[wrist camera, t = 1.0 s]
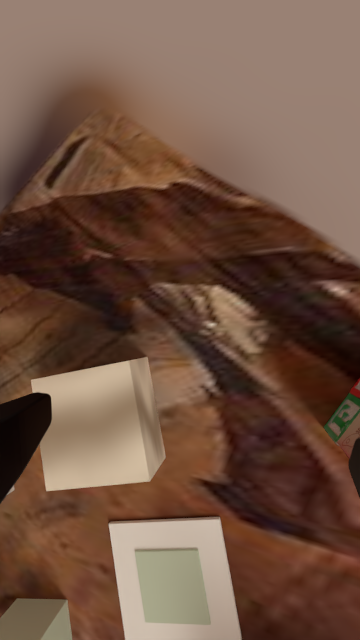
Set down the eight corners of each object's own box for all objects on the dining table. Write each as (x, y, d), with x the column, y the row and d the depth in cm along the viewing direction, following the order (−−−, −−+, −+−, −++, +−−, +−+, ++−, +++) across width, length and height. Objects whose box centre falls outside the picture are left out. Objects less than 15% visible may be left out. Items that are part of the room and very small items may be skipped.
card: (244, 649, 20) (244, 657, 19) (127, 642, 22) (125, 650, 21) (219, 516, 20) (219, 521, 20) (110, 521, 22) (107, 525, 22)
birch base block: (166, 455, 22) (150, 481, 18) (78, 465, 24) (46, 491, 20) (148, 356, 23) (128, 360, 19) (64, 373, 25) (31, 379, 21)
